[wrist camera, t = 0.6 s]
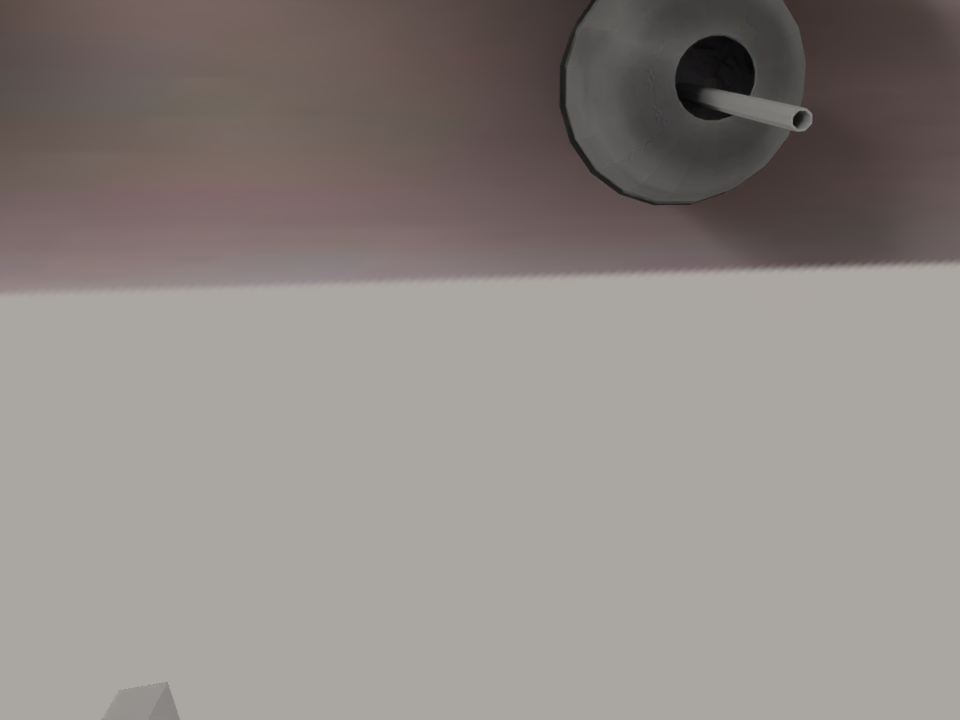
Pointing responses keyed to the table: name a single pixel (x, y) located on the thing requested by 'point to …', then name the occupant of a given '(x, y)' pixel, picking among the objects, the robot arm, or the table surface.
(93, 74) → the table surface
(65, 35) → the table surface
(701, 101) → the beverage cup
